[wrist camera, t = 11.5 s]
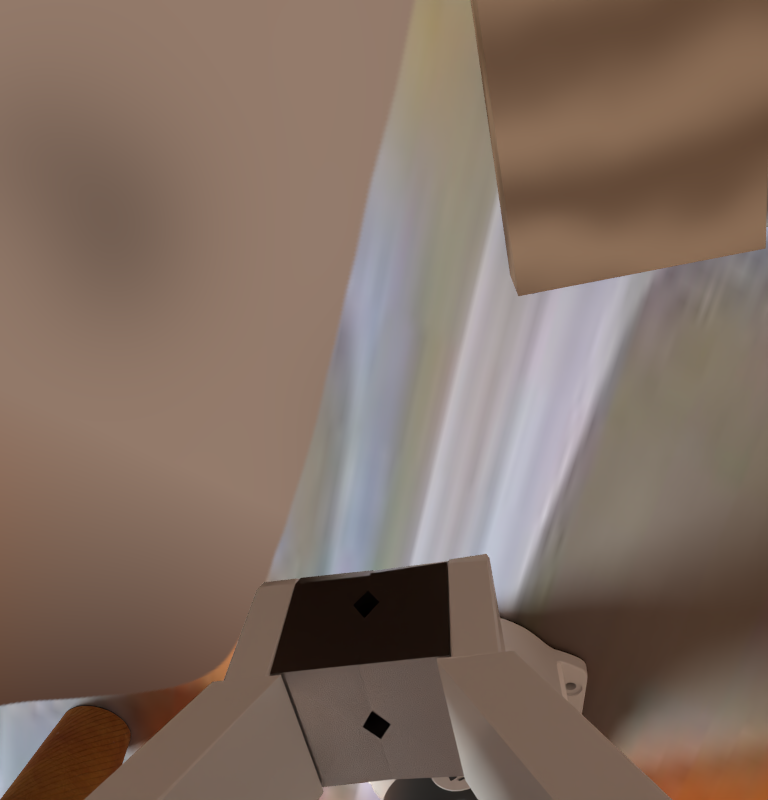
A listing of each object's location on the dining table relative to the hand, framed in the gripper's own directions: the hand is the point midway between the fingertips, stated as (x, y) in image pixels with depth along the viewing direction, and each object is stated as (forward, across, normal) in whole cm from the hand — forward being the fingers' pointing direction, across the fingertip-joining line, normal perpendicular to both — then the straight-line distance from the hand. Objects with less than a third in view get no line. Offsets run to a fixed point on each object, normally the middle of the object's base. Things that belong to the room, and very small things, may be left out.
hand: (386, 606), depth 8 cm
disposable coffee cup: (+32, -37, -38) cm, 62 cm away
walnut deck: (+30, +10, +7) cm, 32 cm away
